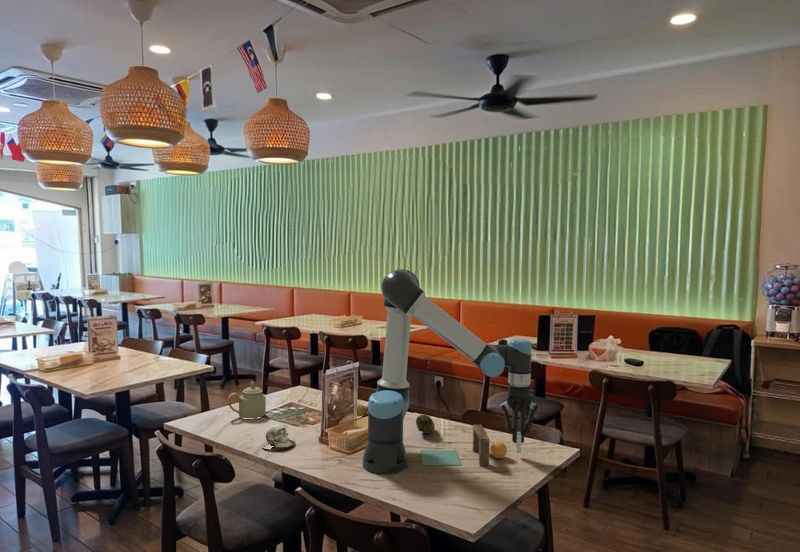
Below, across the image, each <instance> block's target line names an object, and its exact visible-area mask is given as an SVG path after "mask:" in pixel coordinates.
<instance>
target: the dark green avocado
mask: <svg viewBox="0 0 800 552" xmlns="http://www.w3.org/2000/svg"><path fill="white" fill-rule="evenodd" d="M415 423H416V424H415V425H416V428H417V429H418V431H419V432H422V433H425V434H431V433H433V432H434V430H435V427H436V426H435V422H434V420H433V419H432V417H430V416H429V415H427V414H419V415H418V416H417V417H416V419H415Z"/></svg>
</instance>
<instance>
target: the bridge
mask: <svg viewBox="0 0 800 552" xmlns="http://www.w3.org/2000/svg"><path fill="white" fill-rule="evenodd" d="M472 451H473V453H478V464H479V467H489V466H490V437H489V435H488V433H487V432H486V430H485V429H484V427H483V425H482V424H473V425H472Z"/></svg>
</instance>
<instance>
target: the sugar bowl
mask: <svg viewBox="0 0 800 552" xmlns="http://www.w3.org/2000/svg"><path fill="white" fill-rule="evenodd" d="M249 384H250V386H249V387H246V388H245V389H244V390H242V394H241V395H239V394H238V393H237V392H232V393H230V394H229V395H228V397H227V405H228V407H229V408H230V409H231V411H234V412H235V413H237V414H238V417H239V416H240V417H242V418H257V417H262V416H264V415H265V416H266V407H267V405H266V401H267V399H266V394H264V393H262V392H263V391H264V390H263V389H261V388H260V387H258V386H256V383H255V382H254V381H253V380H252V381H251V382H250V383H249ZM233 396H236V399H237V402H238V410H237V409H235V408H234V407H233V406H232V403H231V400H232V397H233ZM265 416H264V417H265ZM240 417H239V418H240ZM242 418H241V419H242ZM262 418H263V417H262Z"/></svg>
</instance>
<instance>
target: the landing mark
mask: <svg viewBox="0 0 800 552" xmlns="http://www.w3.org/2000/svg"><path fill="white" fill-rule="evenodd" d="M419 453H420V456H421V457H420V459H421V463H422V466H463V464H462V462H461V459H460V457H459V453H458V451H457V449H420V450H419Z"/></svg>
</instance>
